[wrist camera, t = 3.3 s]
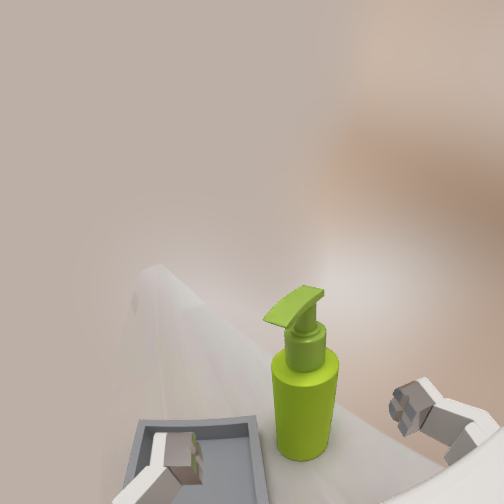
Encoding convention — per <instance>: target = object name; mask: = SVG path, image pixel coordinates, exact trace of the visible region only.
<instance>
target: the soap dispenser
mask: <svg viewBox="0 0 504 504" xmlns="http://www.w3.org/2000/svg"><path fill="white" fill-rule="evenodd" d="M323 296H324V289H319V288H315V287H310V286H305V285H302V286H301V287H299V288H297V289H296V290H294V291H292V292H291V293H289V294H288V295H286V296H285V297H284V298H282V299H281V300H280V301H279V302H278V303H277V304H276V305H275V306H274V307H273V308H272V309H271V310H270V311H269V312H268V314H267V315H266V316H265V317H264V319H263V320H264V321H266V322H268V323H271V324H274V325H277V326H281V327H284V328H285V331H284V337H285V349H283V350H281V351H280V352H278V353H277V354H276V355H275V357H274V358H273V360H272V363H271V370H272V382H273V394H274V407H275V420H276V433H277V445H278V449H279V451H280V452H281V453H282V454H283V455H284V456H285V457H287V458H289V459H291V460H295V461H308V460H311V459H314V458H316V457H318V456H319V455H321V454H322V453H323V452H324V450H325V449H326V447H327V444H328V438H329V433H330V427H331V421H332V415H333V408H334V401H335V394H336V386H337V378H338V369H339V360H338V357H337V356H336V354H335V353H334V352H333V351H332V350H330V349H328V348H327V347H326V328H325V326H324V325H323V324H322V323H320V322H318V321H316V302H317V301H318V300H319V299H321V298H322V297H323Z"/></svg>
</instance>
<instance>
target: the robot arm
mask: <svg viewBox="0 0 504 504" xmlns="http://www.w3.org/2000/svg"><path fill="white" fill-rule="evenodd" d="M393 396H394V398H393V399H392V400H391V401H390V404H389V412H390V415H391V417H392V418H393V420H395V421H397V422H398V428H399V430H400V431H401V433H402V434H403V436H404V437H406V436H408V435H410V434H412V433H415V432H417V431H419V430H420V431H421V432H423V433H424V434H426V435H428V436H430V437H432V438H434V439H436V440H437V441H440V442H441V443H443V444H445V445H447V446H449V447H450V448H449V450H448V451H447V452H446V453H445V455H444V458H445V460H446V461H447V463H448V465H449V467H447V468H446V469H444V470H443V471H441V472H439V473H438V474H436V475H434V476H433V477H431V478H429V479H427V480H426V481H424V482H422V483H420V484H418V485H416V486H414V487H413V488H411V489H409V490H407V491H405V492H403V493H400V494H398V495H396V496H394V497H392V498H390V499H387V500H385V501H383V502H380V503H378V504H504V425H503V426H502V427H501V428H500V427H499V425H498V424H497V423H496V422H495V421H494V419H493V418H492V417H491V416H490V415H489V414H488V412H486V411H485V410H482V409H479V408H475V407H473V406H469V405H467V404H464V403H461V402H457V401H454V400H452V399H449V398H446V399H444V398H443V396H442V395H441V394H440V393H439V392H438V391H437V389H436V388H435V387H434V386H433V385H432V383H431V382H430V381H429V380H428V379H427V378H426V377H422V378H420V379H418V380H415V381H412V382H410V383H408V384H406V385H403V386H401V387H398V388H397V389H395V390H394V392H393ZM202 462H203V456H202V450H201V446H200V444H199V442H197V441H196V435H195V434H194V432H183V433H155V435H154V437H153V444H152V452H151V460H150V466H146V467H145V468H144V469H143V470H142V471H141V472H140V473H139V474H138V475H137V476H136V477H135V478H134V479H133V480H132V481H131V482H130V483H129V484H128V485H127V486H126V487H125V488H124V489H123V490H122V491H121V492H120V493H119V494H118V495H117V496H116V497H115V498H114V499H113V502H112V504H171V502H172V501H173V499H174V498H175V497H176V495H177V494H178V492H179V491H180V489H181V488H182V485H203V470H202V469H201V467H200V465H201V464H202Z"/></svg>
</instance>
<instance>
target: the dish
mask: <svg viewBox="0 0 504 504" xmlns="http://www.w3.org/2000/svg"><path fill="white" fill-rule="evenodd" d="M183 432H194V434H195V435H196V441H197V442H199V444H200V446H201V450H202V456H203V462H202V464H201V465H200V467H201V469H202V470H203V485H182V488H181V489H180V491H179V492H178V494H177V495H176V497H175V498H174V499H173V501H172V502H171V504H269V499H268V492H267V486H266V479H265V473H264V466H263V459H262V452H261V445H260V438H259V431H258V425H257V419H256V415H253V416H244V417H234V418H222V419H207V420H139V422H138V426H137V430H136V434H135V438H134V442H133V446H132V450H131V454H130V458H129V463H128V467H127V472H126V476H125V481H124V486H123V489H124V488H125V487H126V486H127V485H128V484H129V483H130V482H131V481H132V480H133V479H134V478H135V477H136V476H137V475H138V474H139V473H140V472H141V471H142V470H143V469H144V468H145V467H146V466H150V460H151V452H152V444H153V437H154V435H155V433H183Z"/></svg>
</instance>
